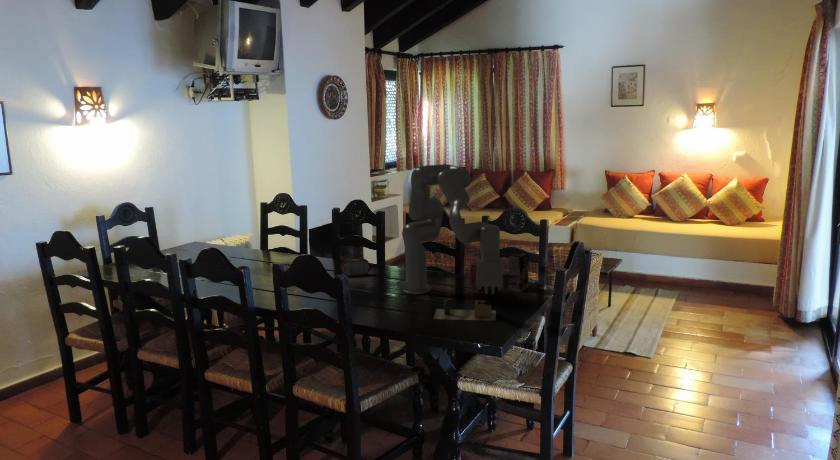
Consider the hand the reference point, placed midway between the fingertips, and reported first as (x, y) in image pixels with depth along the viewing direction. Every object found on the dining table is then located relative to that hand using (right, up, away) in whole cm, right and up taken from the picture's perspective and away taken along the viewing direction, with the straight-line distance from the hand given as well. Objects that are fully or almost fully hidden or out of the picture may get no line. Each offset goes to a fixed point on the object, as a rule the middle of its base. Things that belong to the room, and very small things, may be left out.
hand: (489, 302), depth 234 cm
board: (-9, -6, +2) cm, 11 cm away
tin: (-59, +5, +67) cm, 90 cm away
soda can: (-1, 0, +36) cm, 36 cm away
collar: (-2, -5, +1) cm, 6 cm away
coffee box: (+18, +1, +40) cm, 43 cm away
